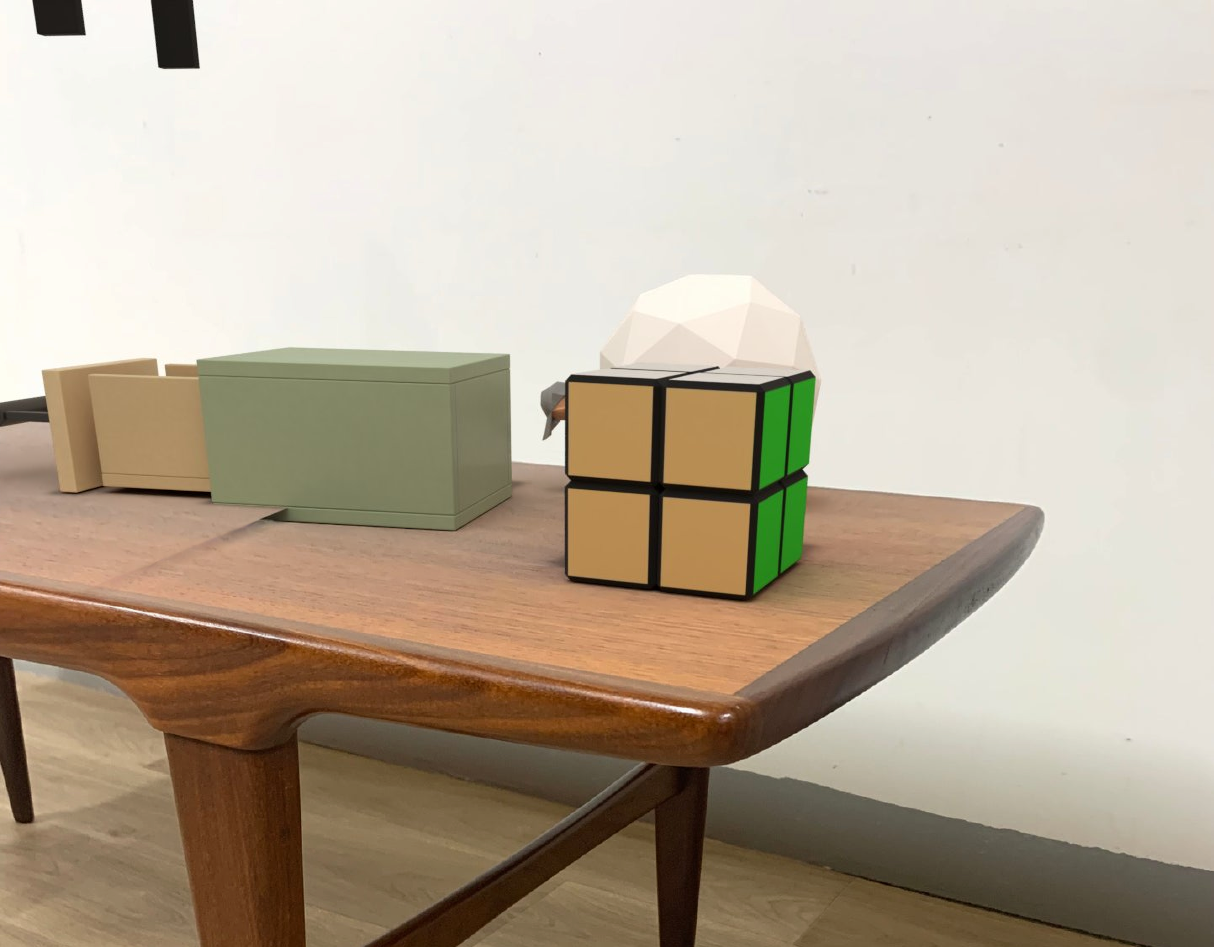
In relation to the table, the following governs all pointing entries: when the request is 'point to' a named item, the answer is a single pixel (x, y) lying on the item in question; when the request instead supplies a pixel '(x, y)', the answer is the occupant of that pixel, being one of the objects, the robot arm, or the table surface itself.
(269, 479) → the cabinet
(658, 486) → the puzzle cube
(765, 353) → the person on sphere
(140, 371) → the drawer
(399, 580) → the table surface
